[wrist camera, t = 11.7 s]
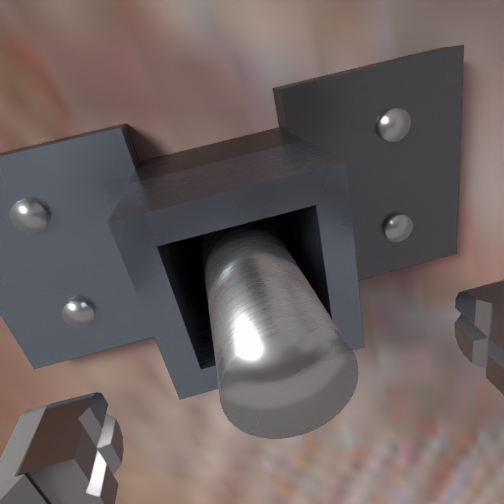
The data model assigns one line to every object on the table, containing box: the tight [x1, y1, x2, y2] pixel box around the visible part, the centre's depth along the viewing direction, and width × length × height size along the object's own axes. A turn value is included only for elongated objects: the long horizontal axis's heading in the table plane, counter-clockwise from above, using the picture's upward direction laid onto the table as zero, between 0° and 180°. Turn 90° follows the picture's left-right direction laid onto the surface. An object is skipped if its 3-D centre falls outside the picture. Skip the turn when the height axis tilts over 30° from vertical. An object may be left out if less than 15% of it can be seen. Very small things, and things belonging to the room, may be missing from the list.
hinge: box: [0, 45, 464, 399], centre depth 15 cm, size 23×10×8 cm, turn 102°
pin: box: [199, 218, 358, 439], centre depth 13 cm, size 3×3×12 cm
